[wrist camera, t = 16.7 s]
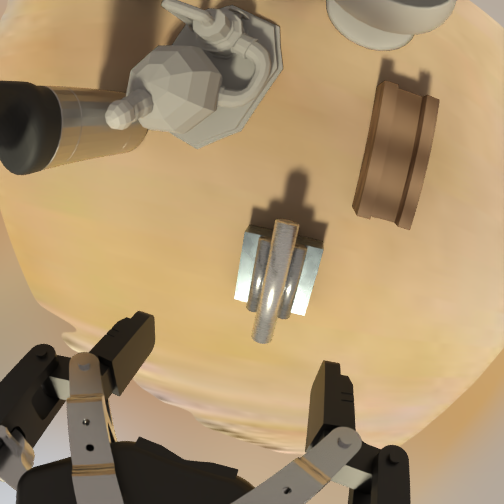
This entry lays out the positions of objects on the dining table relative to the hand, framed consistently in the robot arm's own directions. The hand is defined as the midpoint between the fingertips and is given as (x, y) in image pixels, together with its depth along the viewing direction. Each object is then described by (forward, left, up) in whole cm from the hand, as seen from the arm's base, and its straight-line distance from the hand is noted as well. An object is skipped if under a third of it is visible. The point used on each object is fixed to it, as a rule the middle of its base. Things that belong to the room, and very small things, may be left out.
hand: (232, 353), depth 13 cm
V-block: (-4, -8, -28) cm, 29 cm away
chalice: (+20, +22, -28) cm, 41 cm away
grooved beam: (+15, +3, -28) cm, 32 cm away
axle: (-4, -8, -23) cm, 24 cm away
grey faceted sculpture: (-3, +20, -28) cm, 35 cm away
